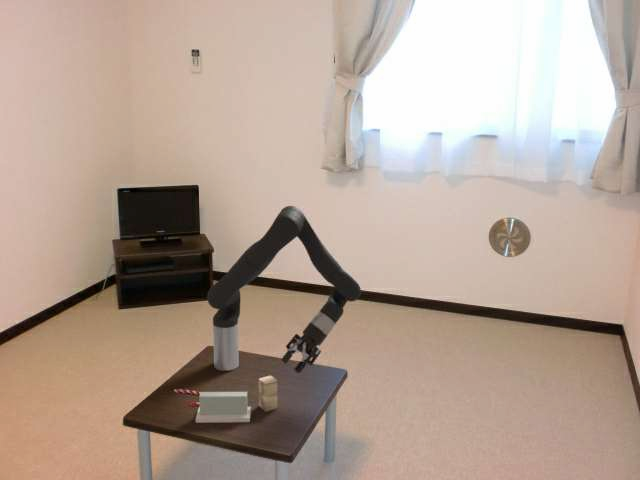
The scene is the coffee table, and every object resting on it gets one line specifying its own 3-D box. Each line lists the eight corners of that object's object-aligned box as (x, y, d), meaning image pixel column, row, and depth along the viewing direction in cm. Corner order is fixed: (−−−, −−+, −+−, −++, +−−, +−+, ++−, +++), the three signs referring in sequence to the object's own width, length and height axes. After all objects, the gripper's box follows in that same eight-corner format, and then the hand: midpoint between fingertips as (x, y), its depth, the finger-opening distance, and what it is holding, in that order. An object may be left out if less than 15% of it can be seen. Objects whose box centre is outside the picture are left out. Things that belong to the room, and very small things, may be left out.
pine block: (259, 405, 209) (258, 378, 207) (270, 402, 212) (270, 375, 209) (265, 411, 206) (265, 384, 203) (277, 408, 208) (277, 380, 205)
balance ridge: (199, 411, 205) (198, 389, 203) (251, 410, 206) (250, 388, 204) (195, 422, 198) (195, 399, 196) (249, 422, 199) (249, 399, 197)
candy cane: (180, 385, 221) (214, 395, 214) (180, 388, 221) (214, 399, 214) (165, 394, 214) (199, 405, 207) (165, 397, 215) (199, 409, 207)
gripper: (301, 315, 217) (272, 353, 214) (324, 329, 205) (293, 369, 202) (314, 327, 221) (286, 364, 218) (337, 341, 209) (307, 380, 206)
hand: (289, 366), depth 210 cm, fingers open, 8 cm apart
